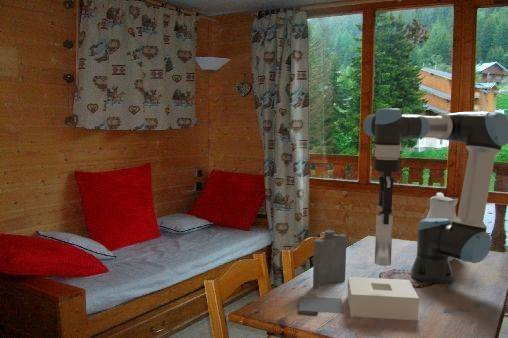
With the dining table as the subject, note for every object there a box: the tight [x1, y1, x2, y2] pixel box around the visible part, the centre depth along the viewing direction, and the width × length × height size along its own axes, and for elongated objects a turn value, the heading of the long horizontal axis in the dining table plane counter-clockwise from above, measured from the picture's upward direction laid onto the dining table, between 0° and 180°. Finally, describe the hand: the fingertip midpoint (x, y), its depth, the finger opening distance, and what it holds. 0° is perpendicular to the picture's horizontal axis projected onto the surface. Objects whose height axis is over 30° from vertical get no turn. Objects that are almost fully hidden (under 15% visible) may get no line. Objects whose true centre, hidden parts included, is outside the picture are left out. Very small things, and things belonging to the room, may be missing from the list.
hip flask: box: [312, 229, 347, 290], centre depth 178 cm, size 16×4×20 cm, turn 128°
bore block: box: [346, 276, 420, 321], centre depth 154 cm, size 20×16×8 cm
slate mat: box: [298, 295, 345, 316], centre depth 157 cm, size 14×12×1 cm
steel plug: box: [374, 205, 394, 267], centre depth 152 cm, size 5×5×18 cm
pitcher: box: [425, 192, 459, 262], centre depth 214 cm, size 24×17×28 cm
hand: (383, 231), depth 151 cm, fingers closed on steel plug, 5 cm apart
